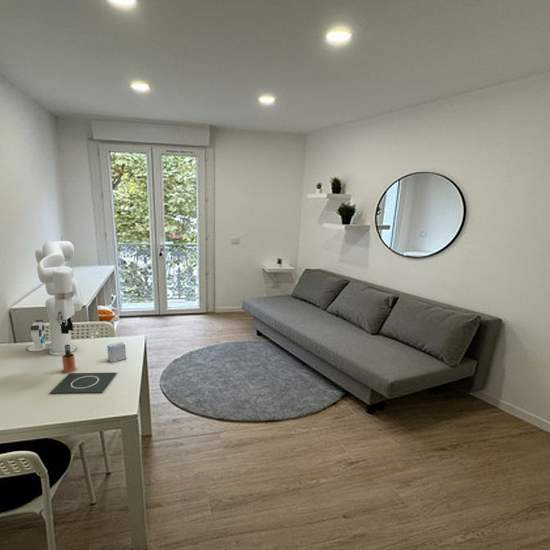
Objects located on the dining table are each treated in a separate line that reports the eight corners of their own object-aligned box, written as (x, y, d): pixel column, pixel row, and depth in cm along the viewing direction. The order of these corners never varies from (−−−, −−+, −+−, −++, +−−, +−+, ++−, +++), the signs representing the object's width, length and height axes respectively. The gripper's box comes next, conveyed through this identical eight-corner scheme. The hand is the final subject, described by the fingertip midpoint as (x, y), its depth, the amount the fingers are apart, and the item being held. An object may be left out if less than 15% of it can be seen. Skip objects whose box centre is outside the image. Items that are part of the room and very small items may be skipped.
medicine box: (123, 356, 194) (122, 341, 193) (126, 358, 191) (125, 343, 190) (108, 360, 189) (107, 345, 187) (111, 363, 186) (110, 347, 184)
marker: (66, 370, 176) (63, 346, 173) (68, 368, 178) (65, 344, 175) (70, 370, 176) (68, 346, 173) (73, 368, 178) (70, 344, 175)
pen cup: (61, 373, 174) (60, 358, 172) (66, 368, 179) (65, 353, 178) (72, 372, 175) (71, 357, 173) (77, 368, 180) (76, 353, 178)
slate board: (50, 393, 156) (50, 392, 155) (69, 374, 173) (69, 373, 173) (101, 392, 158) (101, 391, 157) (116, 373, 175) (116, 372, 175)
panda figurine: (48, 350, 199) (45, 325, 196) (24, 352, 195) (21, 327, 192) (53, 342, 210) (50, 318, 207) (30, 344, 206) (27, 320, 203)
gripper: (64, 290, 175) (67, 325, 179) (45, 300, 159) (50, 338, 163) (80, 291, 176) (83, 325, 180) (63, 300, 160) (67, 338, 163)
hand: (67, 331), depth 171 cm, fingers open, 3 cm apart
